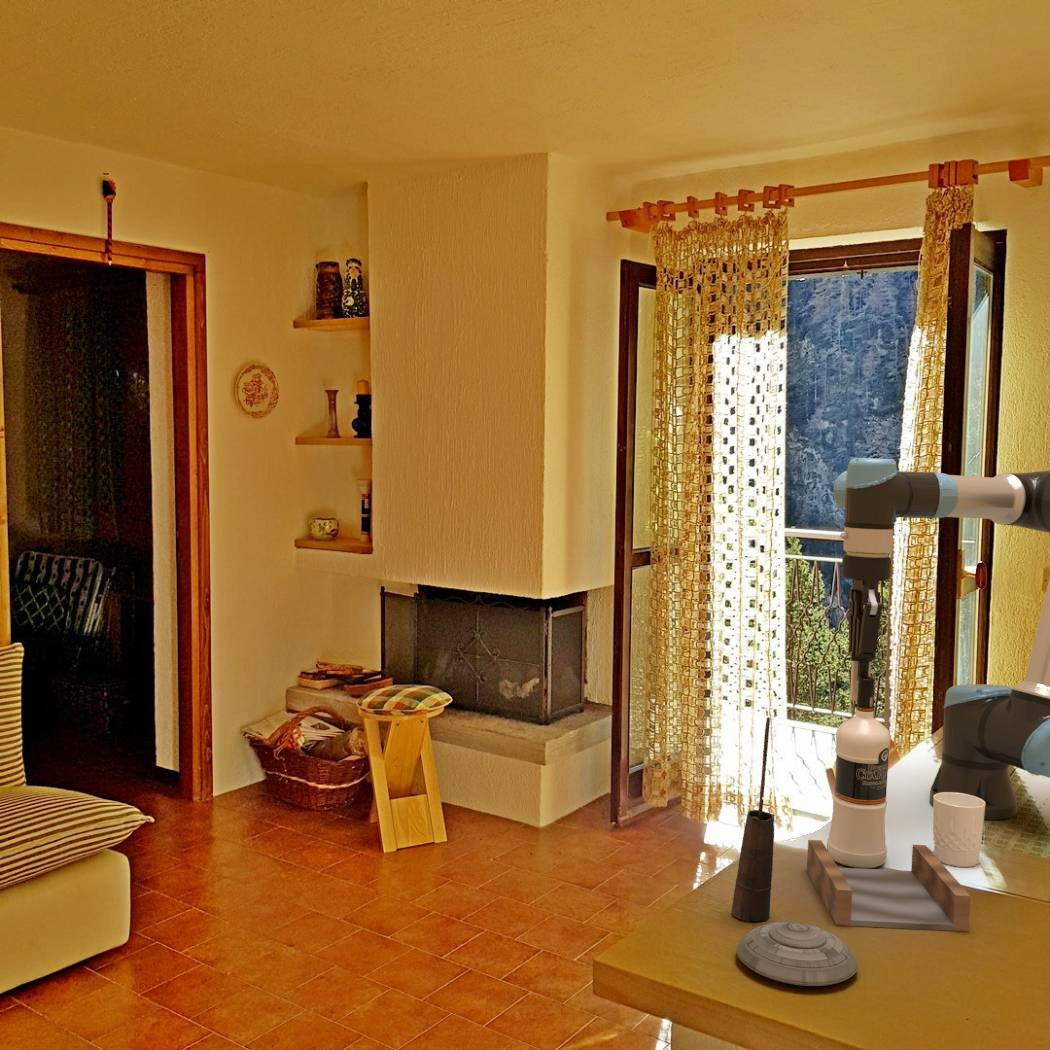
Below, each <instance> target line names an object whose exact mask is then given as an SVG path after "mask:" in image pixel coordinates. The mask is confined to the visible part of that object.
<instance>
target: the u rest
mask: <svg viewBox="0 0 1050 1050" xmlns="http://www.w3.org/2000/svg"><path fill="white" fill-rule="evenodd" d="M806 860H807V861H806V862H807V863H806V873H807V874H808V876H809V877H810V880H811V882H812V883H813V885H814V887H815V889H816V890H817V893H818V894H819V897H820V898H821V900H822V902H823V904H824V905H825V908H826V910H827V911H828V913H829V915H830V917H831V919H832V920H833V923H834V924H835V926H843V927H844V926H847V927H865V928H868V927H869V928H889V929H904V930H905V929H909V930H910V929H911V930H927V931H928V930H930V931H946V932H947V931H949V932H950V931H951V932H966V933H967V932H969V931H970V930H969V929H970V928H969V927H970V912H971V911H970V910H971V895H970V894H969V892H968V891H967V890H966V889H965V888H964V887H963V885H961V883H960V882H959V881H958V880H957V879H956V878H955V877H954V876H953V875H952V873H951V872H950V871H949V869H948V868H946V866H945V864H944V863H942V862H940V861H939V860H938V858H937V857H936V856H935V855H934V853H933V852H932V851H931V849H930V848H929V847H928V845H926V844H912V853H911V866H910V867H911V870H900V869H899V870H898V869H897V870H896V869H878V868H877V869H876V868H867V869H862V868H853V867H838V865H837V862H836V861H835V860H833V859H832V857H831V855H830V854H829V852H828V850H827V846H825V844H824V842H823V840H820V839H819V840H818V839H808V840H807V858H806Z"/></svg>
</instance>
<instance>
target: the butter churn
mask: <svg viewBox="0 0 1050 1050" xmlns="http://www.w3.org/2000/svg"><path fill="white" fill-rule="evenodd" d="M770 718H771V717H769V716H767V717H766V719H765V720H766V723H765V729H764V737H763V738H764V740H763V751H762V765H761V766H762V768H761V779H760V788H759V803H758V809H753V810H749V811H748V812H747V815H746V820H745V825H744V829H743V837H742V840H741V841H742V842H741V848H740V853H739V860H738V867H737V875H736V879H735V884H734V892H733V897H732V898H733V899H732V906H731V914H732V916H733V917H735V918H737V919H739V920H740V921H744V922H747V923H750V922H753V921H754V922H765V921H768V920H769V919H770V912H771V898H772V897H771V892H772V880H773V879H772V877H773V864H774V845H775V844H774V843H775V842H774V841H775V814H773V813H770V812H767V811H763V807H764V799H763V798H764V796H765V785H766V770H767V762H768V747H769V737H770V735H769V734H770V723H771V719H770Z"/></svg>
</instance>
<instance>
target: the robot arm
mask: <svg viewBox="0 0 1050 1050" xmlns="http://www.w3.org/2000/svg"><path fill="white" fill-rule="evenodd" d="M897 469H898V468H897V462H896V461H895V459H891V458H874V457H873V458H871V457H869V458H868V457H854V458H852V459H851V460H850V461H849V462H848V464H847V470H844V471H843V472H842V473H841V474H839V475H838V477H837V478H836V479H835V482H834V484H833V489H832V490H833V498H834V502H835V503H836V505H837V506H838V507H839V508H840V509H842V511H843V510H844V522H843V523H844V524H843V525H844V527H843V531H844V532H841V533H840V537H839V538H841V540H843V546H842V547H843V548H842V550H844V552H846V553H845V554H844V555H843V556H842V558H841V559H842V561H841V563H842V564H841V576H842V578H845V579H847V580H853V584H852V588H850V590H849V592H848V594H847V596H846V597H847V603H848V652H849V653H850V661H851V668H850V669H851V670H850V690H849V699H850V700H851V701H852V702H857V694H858V677H859V676H863V675H866V676H871V671H872V669H871V668H872V662H873V661H874V660H876V657H877V655H876V654H877V647H878V638H879V632H880V631H879V629H880V621H881V615H882V611H883V608H884V604H883V602H881V592H880V591H879V588H878V583H879V582H886V581H889V580H890V579H891V577H892V575H891V573H892V558H891V557H890V556H889V555H891V554H892V553H893V547H894V545H893V544H894V523H895V522H894V521H895V519H896V518H902V519H903V518H905V519H910V518H911V519H929V520H934V519H942V518H946V517H947V518H964V519H965V518H966V519H984V520H987V519H988V520H990V521H992V522H993V523H995V524H997V525H1001V526H1013V527H1018V528H1024V529H1028V530H1034V531H1038V532H1042V533H1043V532H1044V533H1046V534H1047V533H1048V534H1050V470H1041V471H1031V472H1017V473H1016V472H1015V473H1014V472H1012V473H1011V472H1002V473H998V474H997V475H995V476H993V477H989V476H988V477H986V476H969V475H955V474H947V473H943V472H936V471H903V470H901V471H900V470H897ZM1041 607H1042V608H1041V611H1040V615H1039V619H1038V624H1037V628H1036V631H1035V635H1034V639H1033V643H1032V647H1031V651H1030V655H1029V657H1028V658H1029V659H1028V664H1027V667H1026V671H1025V675H1024V679H1023V681H1021V682H1020V683H1018V684H1016V685H1015V686H1012V687H1010V686H1009V685H1000V684H985V683H983V684H982V683H979V684H977V683H974V684H972V683H970V684H969V683H968V684H957V685H952V686H951V687H949V688H948V689H947V690H946V692H945V699H944V705H943V708H942V709H943V716H942V717H943V718H942V719H943V721H942V723H943V724H942V746H941V747H942V748H941V749H942V751H941V752H942V753H941V763H940V765H939V768H938V770H937V772H936V775H935V776H934V777H935V778H934V780H933V782H932V784H931V787H930V791H929V792H930V793H929V803H930V805H931V806H933V796H934V795H935V794H937V793H942V792H954V793H963V794H968V795H972V796H975V797H978V798H980V799H982V800H984V801H985V803H986V805H985V814H984V820H990V821H991V820H1005V819H1010V818H1013V817H1014V816H1016V815H1017V812H1018V810H1017V809H1018V800H1017V796H1016V792H1015V788H1014V786H1013V782H1012V778H1011V775H1010V771H1009V770H1010V767H1009V766H1011V767H1014V768H1018V769H1020V770H1023V771H1027V772H1028V773H1029V774H1031V775H1036V776H1042V777H1046V778H1049V779H1050V578H1049V579H1048V584H1047V587H1046V590H1045V595H1044V599H1043V603H1042V606H1041Z"/></svg>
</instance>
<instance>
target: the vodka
mask: <svg viewBox="0 0 1050 1050" xmlns="http://www.w3.org/2000/svg"><path fill="white" fill-rule="evenodd" d="M875 687H876V677H874V676H871V675H870V676H866V675H863V676H859V677H858V694H857V701H856V712H855V713H856V714H855V715H854V716H853V717H851V718H849V719H847V720H846V721H844V722H842V723H841V724H839V726H838V728H837V729H836V733H835V743H836V744H835V745H836V747H835V748H834V749H835V750H834V751H835V754H836V756H835V757H836V758H835V775H834V789H833V790H834V791H833V794H832V796H831V798H832V814H831V815H832V817H831V824H830V829H829V834H828V837H827V841H826V849H827V850H828V852H829V854H830V855H831V857H832V859H833V860H834V862H835V863H837V864H839V865H842V866H845V867H847V868H858V869H875V868H877V867H879V866H881V865H884V863H885V861H886V860H887V855H888V847H887V844H886V809H887V806H888V801H887V786H888V772H889V771H888V770H889V759H890V756H891V753H890V746H891V741H892V737H891V733H890V731H889V729H888V728H887V727H886V726H884V725H883V724H882V723H881V722H880V721H879V720H877V719H875V717H874V705H875V704H874V702H875V690H876V689H875Z"/></svg>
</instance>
